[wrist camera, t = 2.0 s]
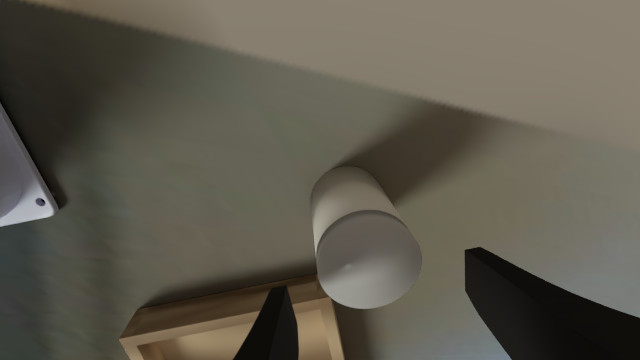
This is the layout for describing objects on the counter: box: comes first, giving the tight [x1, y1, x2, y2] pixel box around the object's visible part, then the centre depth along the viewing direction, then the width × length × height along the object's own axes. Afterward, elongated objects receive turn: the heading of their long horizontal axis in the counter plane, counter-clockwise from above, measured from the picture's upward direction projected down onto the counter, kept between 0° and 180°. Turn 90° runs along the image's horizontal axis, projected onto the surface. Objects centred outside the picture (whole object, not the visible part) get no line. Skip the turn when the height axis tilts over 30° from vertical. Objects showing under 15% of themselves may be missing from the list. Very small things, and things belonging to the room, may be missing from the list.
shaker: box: [311, 166, 422, 309], centre depth 17 cm, size 5×5×7 cm
